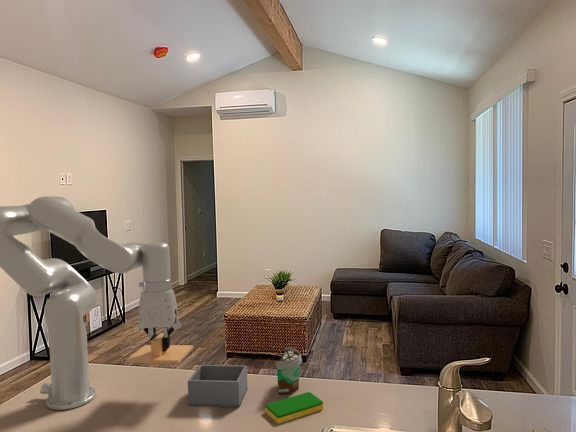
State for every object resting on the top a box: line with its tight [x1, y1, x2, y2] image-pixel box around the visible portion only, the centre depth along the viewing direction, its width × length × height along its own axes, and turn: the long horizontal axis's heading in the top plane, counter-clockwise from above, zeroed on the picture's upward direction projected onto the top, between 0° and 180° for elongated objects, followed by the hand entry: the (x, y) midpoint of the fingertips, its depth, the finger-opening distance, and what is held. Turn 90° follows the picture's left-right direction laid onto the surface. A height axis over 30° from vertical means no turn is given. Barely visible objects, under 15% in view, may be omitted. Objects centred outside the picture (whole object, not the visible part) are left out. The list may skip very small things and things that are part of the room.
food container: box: [276, 347, 303, 396], centre depth 126 cm, size 12×6×10 cm, turn 168°
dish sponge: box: [265, 391, 324, 424], centre depth 113 cm, size 7×14×2 cm, turn 120°
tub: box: [187, 364, 248, 409], centre depth 121 cm, size 14×11×7 cm
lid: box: [125, 332, 194, 366], centre depth 122 cm, size 15×12×6 cm
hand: (160, 349), depth 122 cm, fingers closed on lid
